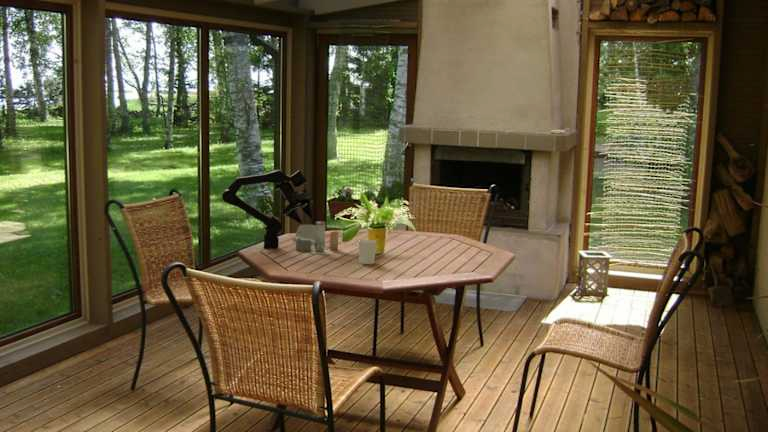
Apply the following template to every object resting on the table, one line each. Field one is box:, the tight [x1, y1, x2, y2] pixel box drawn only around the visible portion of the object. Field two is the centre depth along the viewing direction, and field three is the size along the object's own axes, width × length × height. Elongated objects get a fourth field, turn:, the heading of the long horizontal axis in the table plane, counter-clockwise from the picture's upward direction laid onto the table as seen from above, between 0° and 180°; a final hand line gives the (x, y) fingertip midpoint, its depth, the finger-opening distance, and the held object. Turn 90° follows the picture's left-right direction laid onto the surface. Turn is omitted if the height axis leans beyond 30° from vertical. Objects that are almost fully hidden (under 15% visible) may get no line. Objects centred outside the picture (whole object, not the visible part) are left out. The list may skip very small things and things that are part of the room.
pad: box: [310, 249, 330, 255], centre depth 388 cm, size 8×8×1 cm
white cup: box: [358, 238, 377, 265], centre depth 370 cm, size 8×8×10 cm
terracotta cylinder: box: [328, 230, 339, 252], centre depth 396 cm, size 4×4×9 cm
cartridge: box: [314, 220, 326, 253], centre depth 387 cm, size 5×5×14 cm
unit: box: [295, 238, 312, 252], centre depth 393 cm, size 7×4×6 cm, turn 97°
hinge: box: [292, 224, 316, 247], centre depth 411 cm, size 17×5×10 cm, turn 50°
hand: (307, 220), depth 390 cm, fingers open, 9 cm apart
